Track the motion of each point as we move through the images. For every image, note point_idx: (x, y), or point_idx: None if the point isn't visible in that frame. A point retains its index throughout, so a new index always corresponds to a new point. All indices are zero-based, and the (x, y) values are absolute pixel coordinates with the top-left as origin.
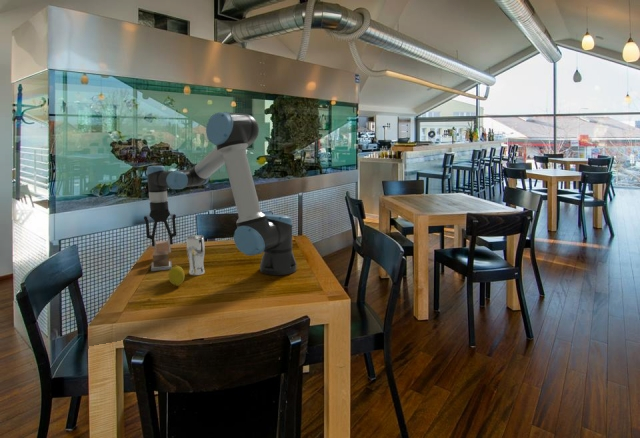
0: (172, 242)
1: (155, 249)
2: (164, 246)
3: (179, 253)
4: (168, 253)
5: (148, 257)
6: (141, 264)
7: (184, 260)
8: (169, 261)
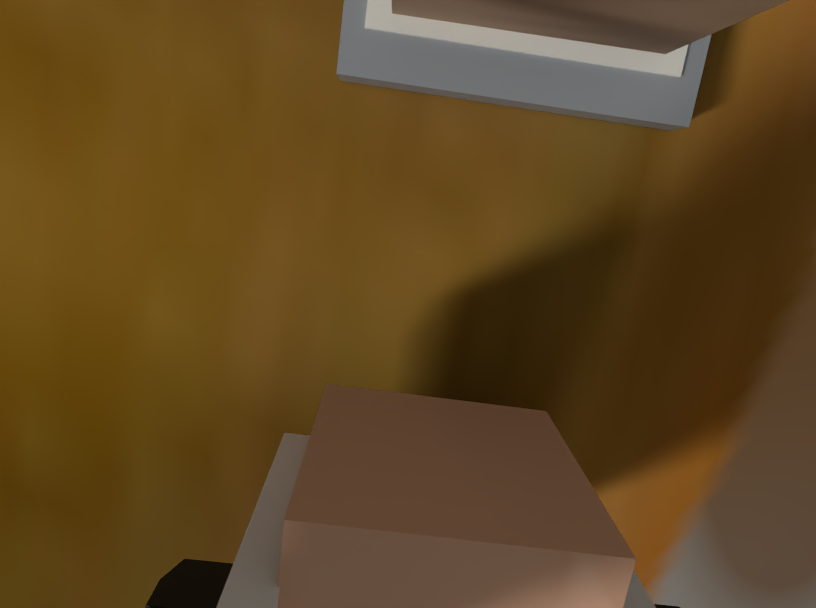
0: (158, 599)
1: None
2: (406, 479)
3: None
4: (338, 388)
5: None
6: (802, 249)
7: (102, 148)
8: (373, 47)
